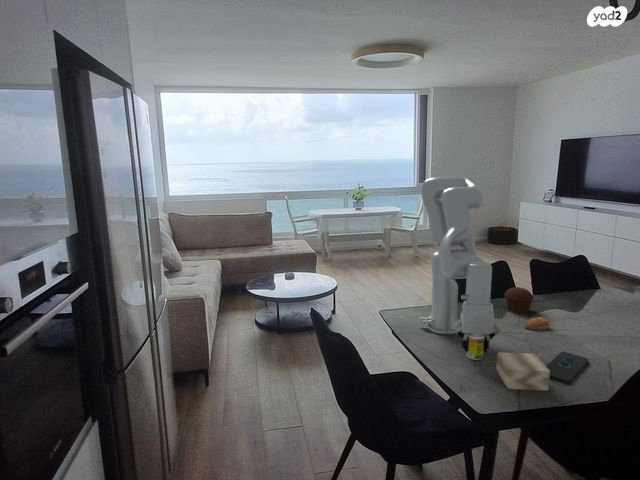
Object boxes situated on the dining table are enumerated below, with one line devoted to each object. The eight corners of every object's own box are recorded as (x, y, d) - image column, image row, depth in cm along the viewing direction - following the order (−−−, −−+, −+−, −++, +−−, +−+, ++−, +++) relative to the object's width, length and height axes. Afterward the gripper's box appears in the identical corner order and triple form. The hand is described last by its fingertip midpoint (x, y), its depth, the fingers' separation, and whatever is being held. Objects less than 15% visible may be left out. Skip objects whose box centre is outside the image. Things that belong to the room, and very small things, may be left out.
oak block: (508, 388, 117) (509, 369, 116) (496, 370, 128) (497, 352, 127) (548, 390, 116) (550, 371, 115) (533, 371, 127) (534, 353, 126)
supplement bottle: (476, 362, 133) (478, 333, 131) (462, 356, 138) (463, 327, 136) (486, 357, 136) (488, 329, 134) (472, 351, 141) (474, 323, 139)
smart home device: (589, 358, 132) (569, 381, 119) (589, 363, 132) (569, 386, 119) (561, 350, 138) (539, 371, 125) (561, 355, 138) (539, 376, 125)
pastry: (533, 332, 156) (534, 323, 155) (519, 326, 162) (520, 317, 162) (551, 328, 159) (552, 319, 159) (537, 322, 166) (537, 314, 165)
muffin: (498, 309, 180) (500, 288, 179) (510, 304, 187) (511, 283, 186) (526, 317, 171) (527, 294, 170) (537, 310, 179) (539, 288, 177)
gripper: (453, 302, 131) (450, 354, 134) (509, 303, 129) (505, 356, 132) (448, 294, 138) (446, 344, 141) (501, 295, 136) (498, 346, 139)
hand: (474, 349), depth 137 cm, fingers closed on supplement bottle, 5 cm apart
